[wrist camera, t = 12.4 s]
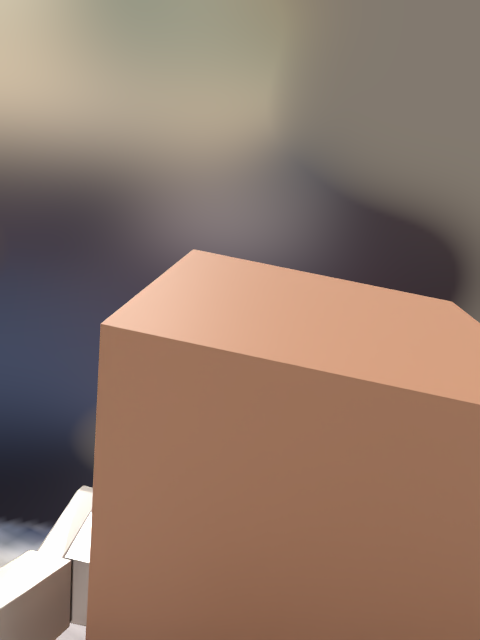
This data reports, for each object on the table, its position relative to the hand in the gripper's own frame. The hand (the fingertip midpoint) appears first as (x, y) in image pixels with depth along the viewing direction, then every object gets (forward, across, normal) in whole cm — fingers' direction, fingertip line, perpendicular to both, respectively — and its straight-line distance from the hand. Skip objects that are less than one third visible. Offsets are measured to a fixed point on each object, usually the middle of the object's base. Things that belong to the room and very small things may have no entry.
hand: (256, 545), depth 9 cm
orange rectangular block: (-1, 0, +8) cm, 8 cm away
